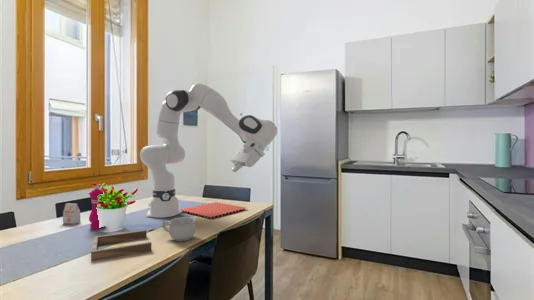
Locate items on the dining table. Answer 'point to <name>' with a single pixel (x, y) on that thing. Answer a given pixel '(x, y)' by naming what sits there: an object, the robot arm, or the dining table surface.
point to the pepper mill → (94, 208)
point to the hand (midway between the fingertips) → (233, 171)
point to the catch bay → (119, 250)
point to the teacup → (181, 228)
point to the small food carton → (71, 214)
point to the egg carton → (213, 209)
